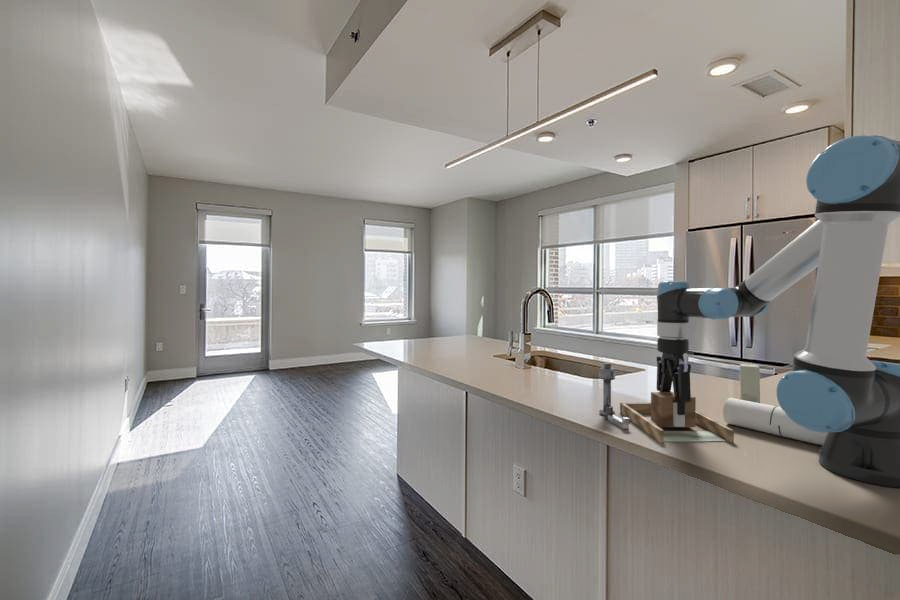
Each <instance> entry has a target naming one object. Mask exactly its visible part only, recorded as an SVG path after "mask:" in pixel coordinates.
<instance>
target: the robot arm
mask: <svg viewBox="0 0 900 600" xmlns="http://www.w3.org/2000/svg"><path fill="white" fill-rule="evenodd" d="M805 179H806V180H805V184H806V187H807V190H808V192H809V193H810V194H811V196H813V198H814V199H815V200H816V203H815V212H814V217H815V218H816V219H817V220H816V221H815V222H814V223H812V224H811V225H810V226H808V227H807V228H806V229H805V230H804V231H802V232H801V233H800V234H799V235H798V236H797V237H796V238H794V240H792V241H791V242H790V243H788V244H787V245H785V247H783V248H782V249H781V250H779V252H777V253H776V254H775V255H774V256H772V257H771V258H770V259H769V260H767V261H766V262H765V263H764V264H763V265H761V266H760V267H758V269H756V270H755V271H754V272H753V273H751V274H750V275H749V276H747V277H746V278H745V279H744V280H743V281H742V282H740V283H739V284H738V285H736V286H734V287H701V288H700V287H698V288H695V287H694V288H693V287H692V288H691V287H690V283H689V282H688V280H687V281H686V280H672V281H671V280H668V281H667V280H665V281H660V282H659V283H658V286H657V296H656V301H657V321H656V324H657V325H656V326H657V327H656V331H657V332H656V336H658V338H657V341H656V342H657V344H656V345H657V349H656V350H657V351H658V352H659V353H662V355H661V356H660V355H659V356H656V364H657V368H656V392H672V391H671V390H672V388H673V392H674V395H675V400H672V401H673V426H674V427H673V428H686V427H685V403H686V402H690V401H691V396H692V393H691V369H692V365H691V364H690V363H686V362H685V358H684V355H685V354H688V353H689V349H690V348H689V345H690V343H689V341H690V340H688V339H687V338H688V337H689V329H690V326H689V321H690V319H689V318H697V319H699V318H700V319H710V320H728V319H730V318H735V317H736V318H740V317H741V318H743V317H744V318H750V317H755V316H759V315H762V314H763V313H765V312H766V311H767V310H768V308H769V306H770V304H771V301H772V300H774V299H775V298H776V297H777V296H779V295H781V294H782V293H783V292H785V291H786V290H788V289H789V288H791V287H792V286H793V285H794V284H796V283H797V282H799V281H801V279H803V278H804V277H806V276H807V275H808V274H810V273H811V272H812V271H814V270H815V269H817V270H816V277H815V282H814V289H813V295H812V296H813V297H812V303H811V308H810V316H809V322H808V328H807V329H808V331H807V337H806V342H805V343H806V344H805V347H804V348H802V349H801V350H799V351H797V352H796V353H795V354H794V356H793V363H792V369H791V371H789V372H788V373H786V374H785V375H784V376H782V377H781V379H780V380H779V381H778V384H777V385H776V386H777V387H776V398H777V401H778V404H779V407H781V408H782V410H783V411H785V413H786V414H787V415H788V417H789V418H790V419H791V420H792V421H794V422H795V423H796V424H798V425H800V426H801V427H803V428H806V429H808V430H811V431H816V432H828V434H827V436H826V439H825V442H824V444H823V446H821V447H820V449H819V450H818V462H819V464H820V465H821V466H822V467H824V468H825V469H827V470H829V471H831V472H833V473H836V474H838V475H840V476H843V477H846V478H848V479H853V480H857V481H859V482H860V481H861V482H863V483H868V484H873V485H878V486H884V487H885V486H886V487H892V488H900V363H894V362H886V361H879V360H871V359H869V358H868V356H867V353H868V346H869V342H870V341H869V340H870V335H871V330H872V323H873V318H874V311H875V306H876V298H877V295H878V288H879V282H880V278H881V276H880V274H881V270H882V264H883V257H884V252H885V247H886V240H887V234H888V228H889V225H890V224H891V223H892V222H893V221H895V220H897V219H898V218H900V141H899V140H896V139H891V138H888V137H885V136H882V135H861V134H860V135H854V136H850V137H845V138H842V139H840V140H837V141H835V142H834V143H832V144H830V145H829V146H827V147H826V148H825V149H824V150H823V151H821V152H820V153H819V154H818V155H817V156H815V158H814V160H813V161H812V163H810V166H809V168H808V170H807V172H806V178H805Z"/></svg>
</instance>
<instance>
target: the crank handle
mask: <svg viewBox="0 0 900 600" xmlns="http://www.w3.org/2000/svg"><path fill="white" fill-rule="evenodd" d="M613 411H614V407H613V406H612V405H611V406H606V416H605V420H606V421H608V422H610V423H612V424H613V425H615V426H617V427H619V428H620V429H622V430H629V428H630V424H631V420H630V418H628V417H625V416H623V417H622V418H620V417H618V416H616V414H615V415H613Z"/></svg>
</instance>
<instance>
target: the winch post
mask: <svg viewBox="0 0 900 600" xmlns="http://www.w3.org/2000/svg"><path fill="white" fill-rule="evenodd" d="M598 371H599V379H600V380H602V381H603V382H602V384H603V385H602V387H603V388H602V392H603V394H602V395H603V397H602V401H603V402H602V403H603V404H602V409H600V410H599V412H598V413H599V415H600V416H603V417H606V406H611V407H612V381H614V380H616V368H614V367H612V363H611V362H603V366H602V367H599V370H598ZM613 415H615V416H616V411H614V410H613Z"/></svg>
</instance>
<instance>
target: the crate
mask: <svg viewBox="0 0 900 600" xmlns="http://www.w3.org/2000/svg"><path fill="white" fill-rule="evenodd" d="M672 400H675V395H674V391H671V392H660V391H651V392H650V403H651V414H650V421H651V422H652V423H654V424H655V425H657V426H658V427H660V428H675V427H674V426H673V401H672ZM696 400H697V397H695V396H693V395H691V401H690V402H686V403H685V427H684V428H696V423H695V411H697V410H696V409H697V408H696Z"/></svg>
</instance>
